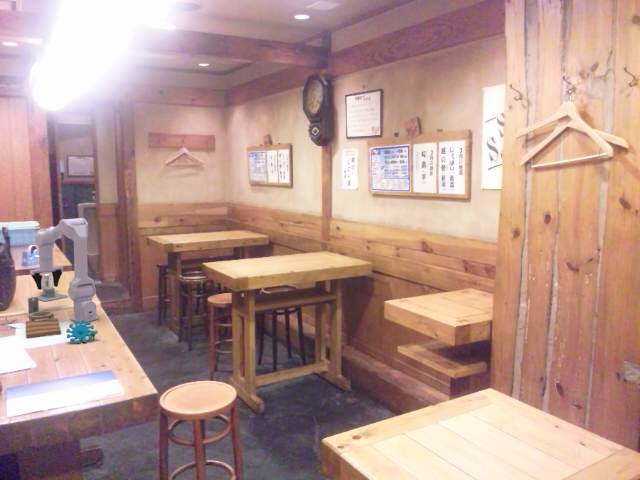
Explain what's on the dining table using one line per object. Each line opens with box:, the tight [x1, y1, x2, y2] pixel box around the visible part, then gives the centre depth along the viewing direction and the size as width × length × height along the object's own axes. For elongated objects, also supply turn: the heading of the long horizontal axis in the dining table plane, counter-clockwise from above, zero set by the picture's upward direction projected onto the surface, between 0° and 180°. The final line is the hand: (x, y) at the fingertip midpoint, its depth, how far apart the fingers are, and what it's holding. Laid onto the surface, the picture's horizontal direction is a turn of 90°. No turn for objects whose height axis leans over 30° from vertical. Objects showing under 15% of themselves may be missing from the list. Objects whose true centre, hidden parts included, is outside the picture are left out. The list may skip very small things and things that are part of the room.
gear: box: [65, 320, 99, 344], centre depth 206 cm, size 11×6×10 cm
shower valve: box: [36, 286, 69, 303], centre depth 272 cm, size 12×6×15 cm
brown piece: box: [25, 310, 62, 339], centre depth 223 cm, size 29×12×3 cm, turn 29°
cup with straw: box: [34, 255, 54, 295], centre depth 280 cm, size 8×9×20 cm
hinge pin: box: [27, 296, 40, 315], centre depth 238 cm, size 4×4×8 cm
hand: (47, 287), depth 249 cm, fingers open, 7 cm apart
